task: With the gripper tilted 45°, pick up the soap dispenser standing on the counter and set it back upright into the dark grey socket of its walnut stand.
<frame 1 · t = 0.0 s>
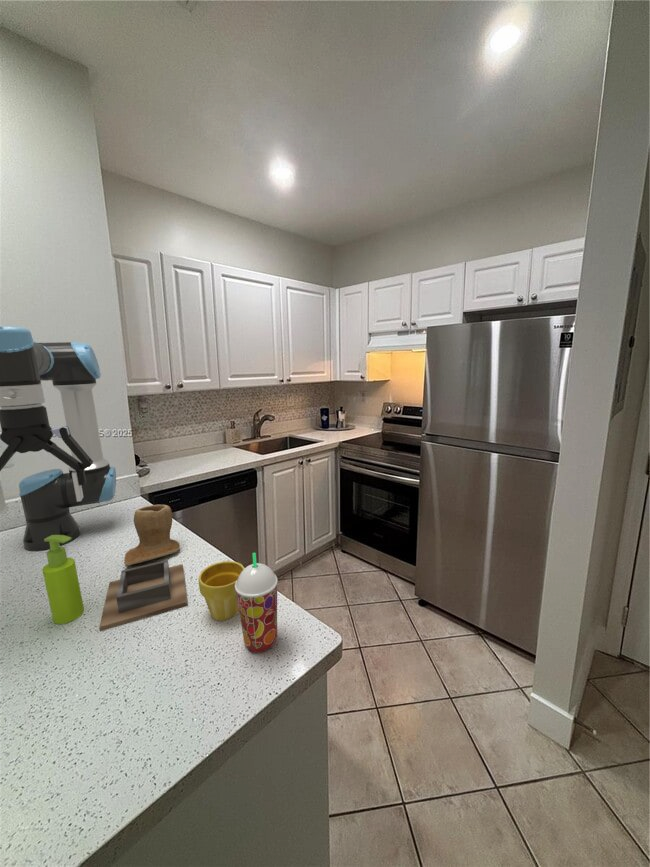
hand: (42, 505, 75), 28 cm above the table, tool pointing down, fingers open, 13 cm apart
plant pot: (225, 611, 82), on the table
dispenser stand: (147, 594, 89), on the table
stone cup: (152, 555, 108), on the table
smoothie: (261, 642, 73), on the table
soap dispenser: (71, 616, 82), on the table
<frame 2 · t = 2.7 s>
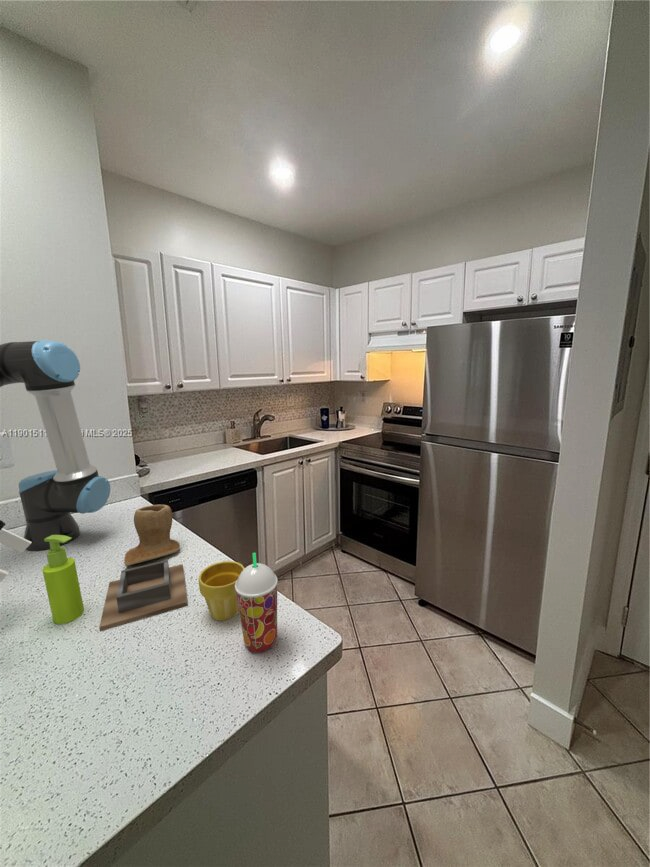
hand: (16, 562, 75), 16 cm above the table, tool tilted 45°, fingers open, 13 cm apart
nothing on the table moved.
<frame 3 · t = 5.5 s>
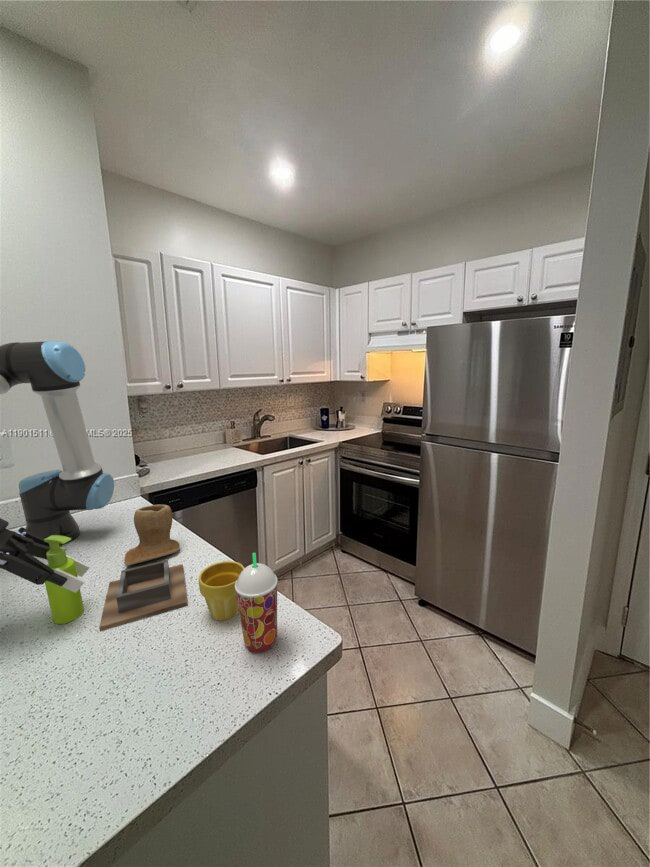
hand: (83, 578, 82), 8 cm above the table, tool tilted 45°, fingers closed on soap dispenser, 6 cm apart
soap dispenser: (70, 615, 82), on the table, touching gripper
everything else where it was.
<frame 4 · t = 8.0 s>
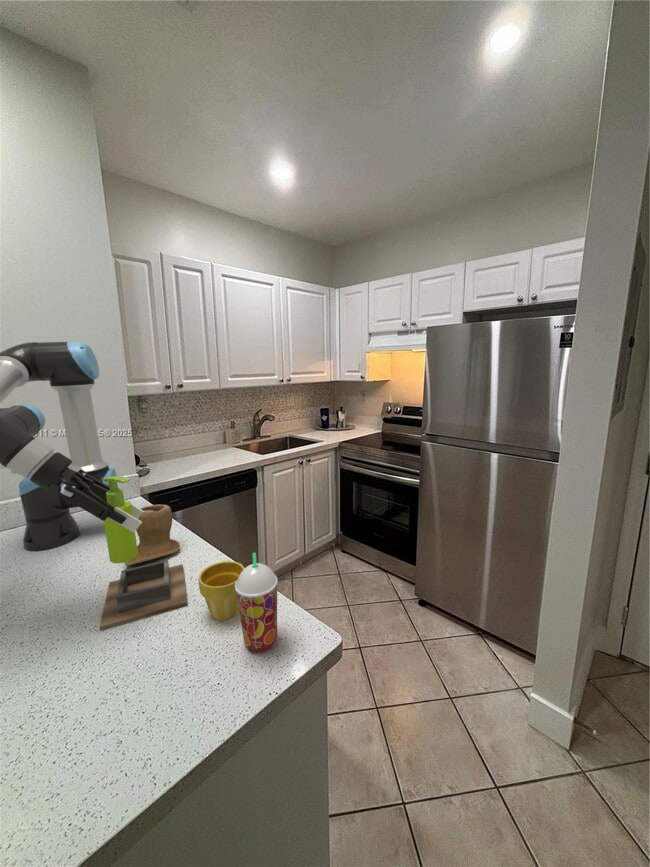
hand: (138, 521, 84), 20 cm above the table, tool tilted 45°, fingers closed on soap dispenser, 6 cm apart
soap dispenser: (126, 557, 84), point 12 cm above the table, touching gripper
everything else where it was.
when the fingers open (11 cm above the table, at t = 10.4 s): soap dispenser drops 1 cm, resting on dispenser stand.
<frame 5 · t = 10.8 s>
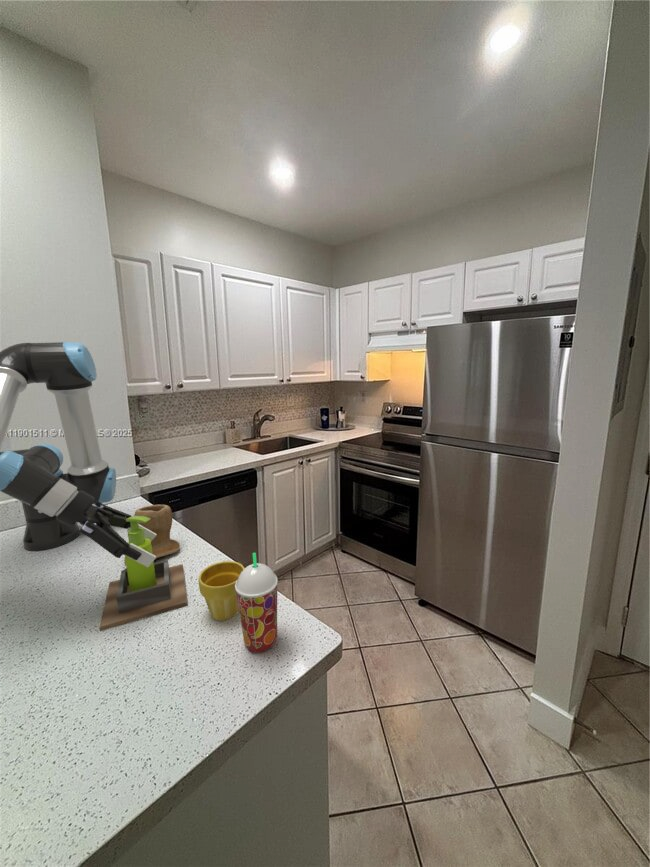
hand: (152, 549, 87), 12 cm above the table, tool tilted 45°, fingers open, 11 cm apart
soap dispenser: (146, 593, 88), point 1 cm above the table, touching dispenser stand
everything else where it was.
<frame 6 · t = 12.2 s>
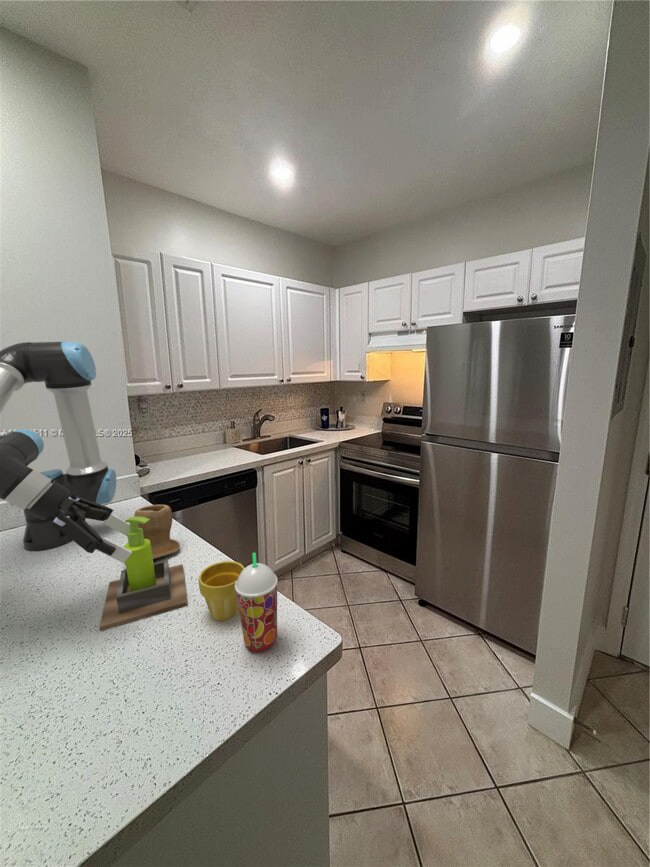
hand: (129, 543, 84), 15 cm above the table, tool tilted 45°, fingers open, 13 cm apart
nothing on the table moved.
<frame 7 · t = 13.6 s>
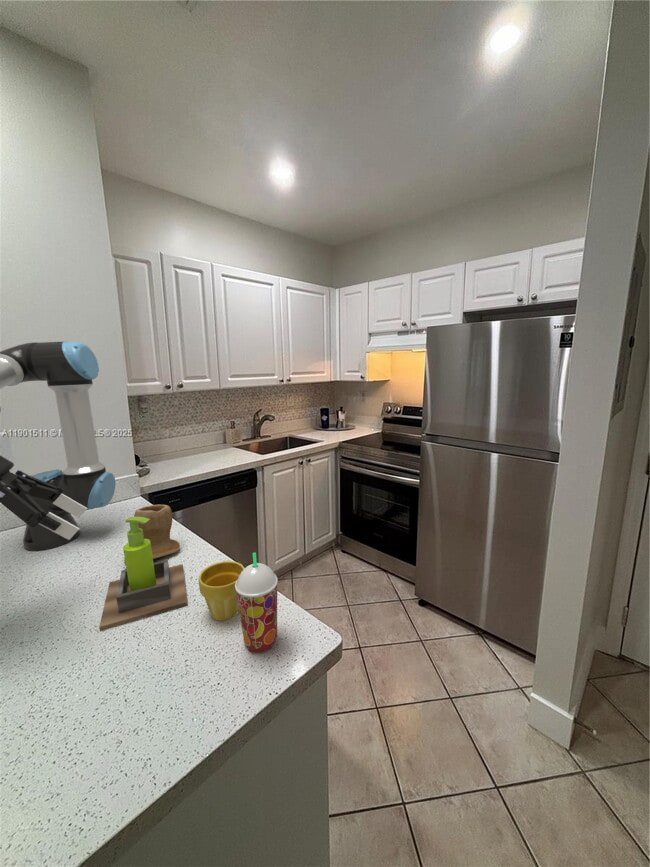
hand: (79, 522, 80), 22 cm above the table, tool tilted 45°, fingers open, 13 cm apart
nothing on the table moved.
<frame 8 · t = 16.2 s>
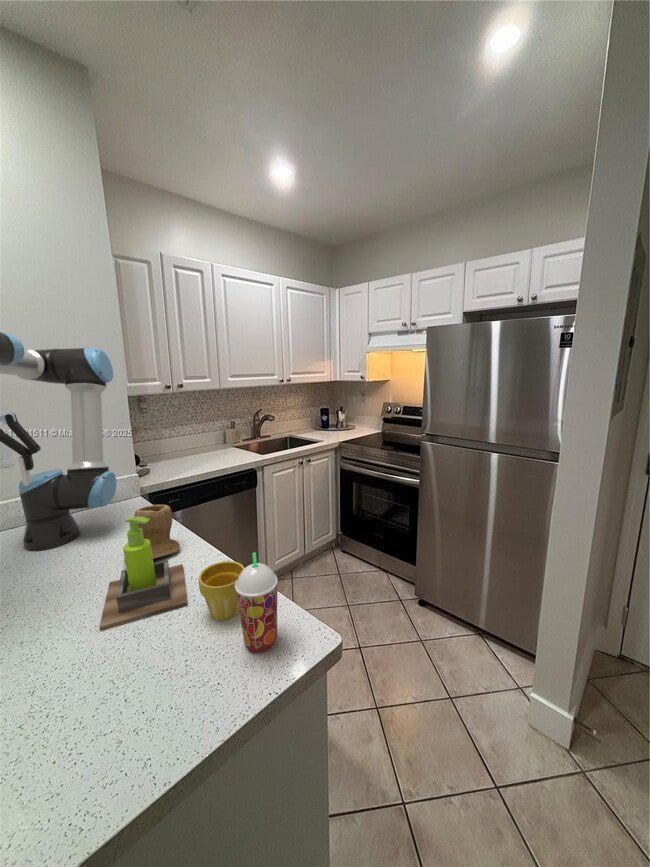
nothing on the table moved.
at the end: soap dispenser 0.4 cm off-centre on the dispenser stand, point 0.8 cm above the dispenser stand's base; soap dispenser tilted 0°; the gripper is holding nothing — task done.
